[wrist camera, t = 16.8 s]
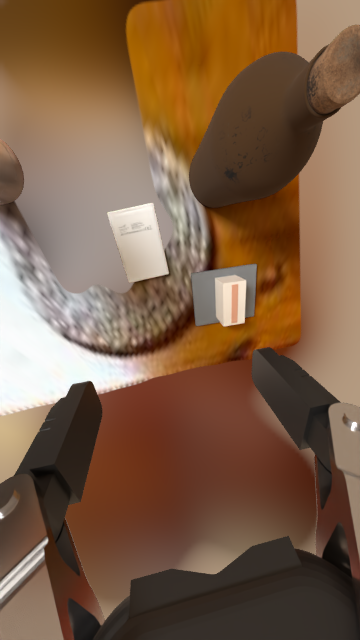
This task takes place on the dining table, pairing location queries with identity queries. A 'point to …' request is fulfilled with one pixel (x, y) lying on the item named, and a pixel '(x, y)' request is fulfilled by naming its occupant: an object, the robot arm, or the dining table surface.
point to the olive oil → (273, 121)
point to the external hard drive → (139, 242)
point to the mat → (206, 292)
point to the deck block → (230, 299)
